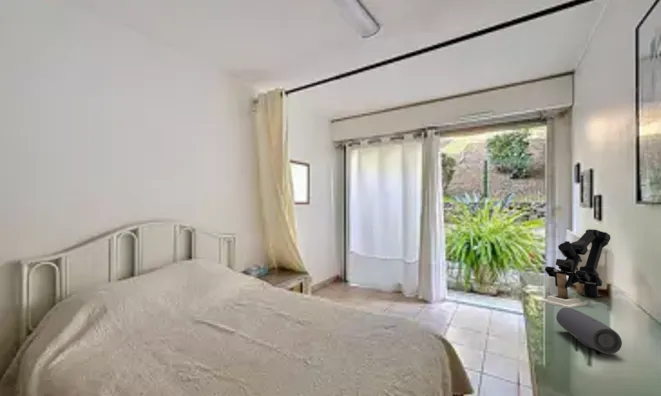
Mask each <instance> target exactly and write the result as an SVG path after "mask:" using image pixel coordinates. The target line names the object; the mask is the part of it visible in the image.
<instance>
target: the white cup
mask: <svg viewBox="0 0 661 396" xmlns="http://www.w3.org/2000/svg"><path fill="white" fill-rule="evenodd" d="M547 284H548V291H549V292H550V293H551V294H555V295H556V294H558V286H557V287H556V285H555V277H551V276H549V275H547ZM550 293H549V294H550ZM551 294H550V295H551Z"/></svg>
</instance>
